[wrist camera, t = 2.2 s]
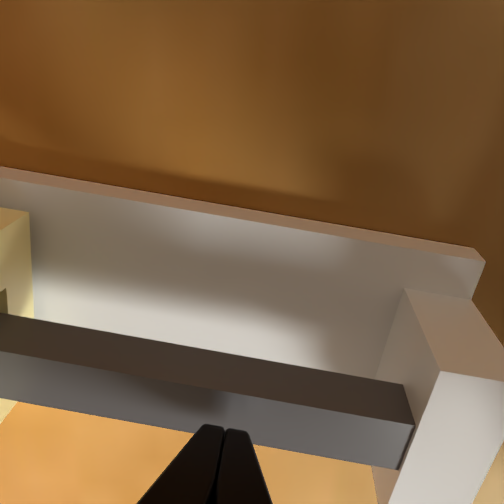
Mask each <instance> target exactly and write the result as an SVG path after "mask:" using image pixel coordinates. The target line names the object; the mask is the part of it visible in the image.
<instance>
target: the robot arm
mask: <svg viewBox="0 0 504 504" xmlns="http://www.w3.org/2000/svg"><path fill="white" fill-rule="evenodd" d="M224 435H225V436H224ZM137 504H273V503H272V500H271V497H270V494H269V491H268V488H267V485H266V483H265V480H264V477H263V474H262V471H261V468H260V465H259V462H258V459H257V456H256V453H255V450H254V447H253V444H252V441H251V438H250V435H249V433H248V432H247V431H244V430H238V429H233V428H228V429H226V431H225V429H224V427H222V426H216V425H211V424H203V425H202V426H201V427H200V428H199V429H198V431H197V432H196V433H195V434H194V435H193V437H192V438H191V439H190V440H189V441H188V443H187V444H186V445H185V446H184V447H183V449H182V450H181V451H180V452H179V453H178V455H177V456H176V457H175V458H174V459H173V461H172V462H171V463H170V464H169V465H168V466H167V468H166V469H165V470H164V471H163V472H162V474H161V475H160V476H159V477H158V478H157V480H156V481H155V482H154V483H153V484H152V486H151V487H150V488H149V489H148V490H147V492H146V493H145V494H144V495H143V496H142V498H141V499H140V500H139V501H138V502H137Z"/></svg>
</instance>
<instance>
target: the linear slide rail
mask: <svg viewBox="0 0 504 504" xmlns="http://www.w3.org/2000/svg"><path fill="white" fill-rule="evenodd" d="M0 207H2V208H8V209H14V210H20V211H25V212H29V221H30V242H31V263H32V284H33V305H34V319H33V318H28V317H22V316H17V315H11V314H5V313H0V398H2V399H8V400H13V401H19V402H24V403H30V404H35V405H41V406H46V407H52V408H57V409H63V410H68V411H74V412H79V413H85V414H90V415H96V416H101V417H107V418H112V419H118V420H123V421H129V422H134V423H140V424H145V425H151V426H156V427H162V428H167V429H173V430H178V431H184V432H189V433H196V432H197V431H198V429H199V428H200V427H201V426H202V425H203V424H211V425H216V426H222V427H224V429H225V431H226V429H228V428H233V429H238V430H244V431H247V432H248V433H249V435H250V438H251V441H252V444H255V445H261V446H267V447H272V448H278V449H283V450H289V451H294V452H300V453H305V454H311V455H316V456H322V457H327V458H333V459H338V460H344V461H349V462H355V463H360V464H366V465H371V467H372V473H373V479H374V484H375V490H376V495H377V501H378V504H472V503H473V501H474V499H475V497H476V495H477V493H478V491H479V489H480V487H481V485H482V483H483V481H484V479H485V477H486V475H487V473H488V471H489V469H490V467H491V465H492V463H493V461H494V459H495V457H496V455H497V453H498V451H499V449H500V447H501V445H502V443H503V441H504V347H503V346H502V344H501V343H500V341H499V340H498V338H497V337H496V335H495V334H494V332H493V331H492V329H491V328H490V326H489V325H488V324H487V322H486V321H485V319H484V318H483V316H482V315H481V313H480V312H479V310H478V309H477V307H476V306H475V305H474V303H473V302H472V300H471V299H472V296H473V294H474V291H475V289H476V286H477V284H478V281H479V279H480V276H481V274H482V271H483V269H484V266H485V264H486V261H485V260H484V259H483V258H482V257H481V255H480V254H479V253H478V252H477V251H476V250H475V249H474V248H471V247H465V246H459V245H454V244H448V243H442V242H436V241H430V240H425V239H419V238H413V237H407V236H402V235H396V234H390V233H384V232H378V231H373V230H367V229H361V228H355V227H349V226H344V225H338V224H332V223H326V222H321V221H315V220H309V219H303V218H297V217H292V216H286V215H280V214H274V213H268V212H263V211H257V210H251V209H245V208H240V207H234V206H228V205H222V204H216V203H211V202H205V201H199V200H193V199H187V198H182V197H176V196H170V195H164V194H158V193H153V192H147V191H141V190H135V189H130V188H124V187H118V186H112V185H106V184H101V183H95V182H89V181H83V180H77V179H72V178H66V177H60V176H54V175H49V174H43V173H37V172H31V171H25V170H20V169H14V168H8V167H2V166H0ZM224 436H225V435H224Z"/></svg>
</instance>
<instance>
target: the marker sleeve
mask: <svg viewBox="0 0 504 504" xmlns="http://www.w3.org/2000/svg"><path fill="white" fill-rule="evenodd" d="M0 313H5V314H11V315H17V316H22V317H28V318H33V319H34V305H33V284H32V263H31V242H30V221H29V212H25V211H20V210H14V209H8V208H2V207H0ZM17 402H18V401H13V400H8V399H2V398H0V424H1V422H2V421H3V420H4V418H5V417H6V416H7V415H8V413H9V412H10V411H11V409H12V408H13V407H14V406H15V404H16V403H17Z"/></svg>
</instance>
